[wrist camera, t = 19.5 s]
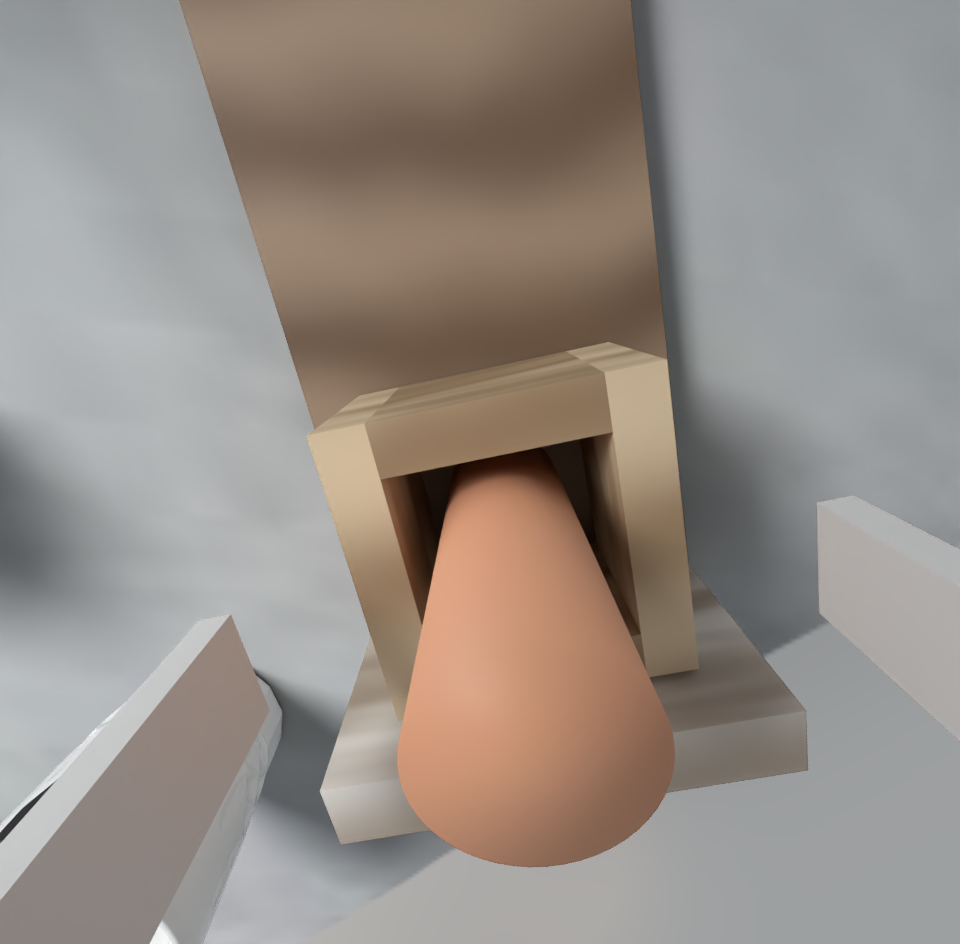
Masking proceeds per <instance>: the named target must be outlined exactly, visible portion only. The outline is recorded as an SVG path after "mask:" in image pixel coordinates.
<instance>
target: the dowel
mask: <svg viewBox="0 0 960 944" xmlns="http://www.w3.org/2000/svg"><path fill="white" fill-rule="evenodd" d="M674 762H675V746H674V737H673V733H672V729H671V726H670V722H669V720H668V718H667V716H666V713H665V711H664V709H663V707H662V704H661V702H660V700H659V698H658V696H657V693H656V691H655V689H654V687H653V684H652V682H651V680H650V678H649V676H648V673H647V671H646V669H645V667H644V664H643V662H642V660H641V658H640V656H639V653H638V651H637V649H636V647H635V644H634V642H633V640H632V638H631V636H630V633H629V631H628V629H627V627H626V624H625V622H624V620H623V618H622V616H621V613H620V611H619V609H618V607H617V604H616V602H615V600H614V598H613V596H612V593H611V591H610V589H609V587H608V584H607V582H606V580H605V578H604V576H603V573H602V571H601V569H600V567H599V564H598V562H597V560H596V558H595V556H594V553H593V551H592V549H591V547H590V544H589V542H588V540H587V538H586V536H585V533H584V531H583V529H582V527H581V524H580V522H579V520H578V518H577V516H576V513H575V511H574V509H573V507H572V504H571V502H570V500H569V498H568V496H567V493H566V491H565V489H564V487H563V485H562V482H561V480H560V478H559V476H558V473H557V471H556V469H555V467H554V465H553V462H552V460H551V459H550V457H549V456H548V454H547V453H546V452H545V451H544V449H542V448H541V447H538V448H533V449H528V450H523V451H518V452H514V453H509V454H504V455H499V456H494V457H489V458H484V459H479V460H474V461H469V462H465V463H460V464H457V465H456V467H455V470H454V474H453V479H452V484H451V488H450V493H449V498H448V503H447V508H446V513H445V518H444V523H443V527H442V532H441V537H440V542H439V547H438V552H437V557H436V562H435V566H434V571H433V576H432V581H431V586H430V591H429V596H428V601H427V605H426V610H425V615H424V620H423V625H422V630H421V635H420V640H419V644H418V649H417V654H416V659H415V664H414V669H413V674H412V679H411V683H410V688H409V693H408V698H407V703H406V708H405V713H404V718H403V722H402V727H401V732H400V737H399V742H398V747H397V766H398V774H399V779H400V782H401V785H402V789H403V791H404V794H405V796H406V798H407V800H408V802H409V804H410V805H411V807H412V808H413V810H414V811H415V813H416V814H417V816H418V817H419V818H420V819H421V820H422V821H423V823H424V824H425V825H426V826H427V827H428V828H429V829H430V830H431V831H433V832H434V833H435V834H436V835H437V836H438V837H440V838H441V839H443V840H444V841H446V842H447V843H449V844H450V845H452V846H453V847H455V848H457V849H459V850H461V851H463V852H465V853H467V854H470V855H472V856H475V857H478V858H480V859H483V860H487V861H491V862H494V863H499V864H505V865H511V866H521V867H548V866H555V865H563V864H568V863H572V862H576V861H581V860H583V859H587V858H589V857H592V856H595V855H598V854H600V853H602V852H604V851H606V850H609V849H611V848H613V847H614V846H616V845H617V844H619V843H621V842H622V841H624V840H626V839H627V838H628V837H629V836H631V835H632V834H633V833H635V832H636V831H637V830H638V829H639V828H640V827H641V826H642V825H643V824H644V823H645V822H646V821H647V820H649V818H650V817H651V816H652V814H653V813H654V812H655V811H656V809H657V808H658V807H659V805H660V803H661V801H662V800H663V798H664V796H665V794H666V792H667V790H668V787H669V784H670V782H671V779H672V774H673V770H674Z"/></svg>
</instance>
